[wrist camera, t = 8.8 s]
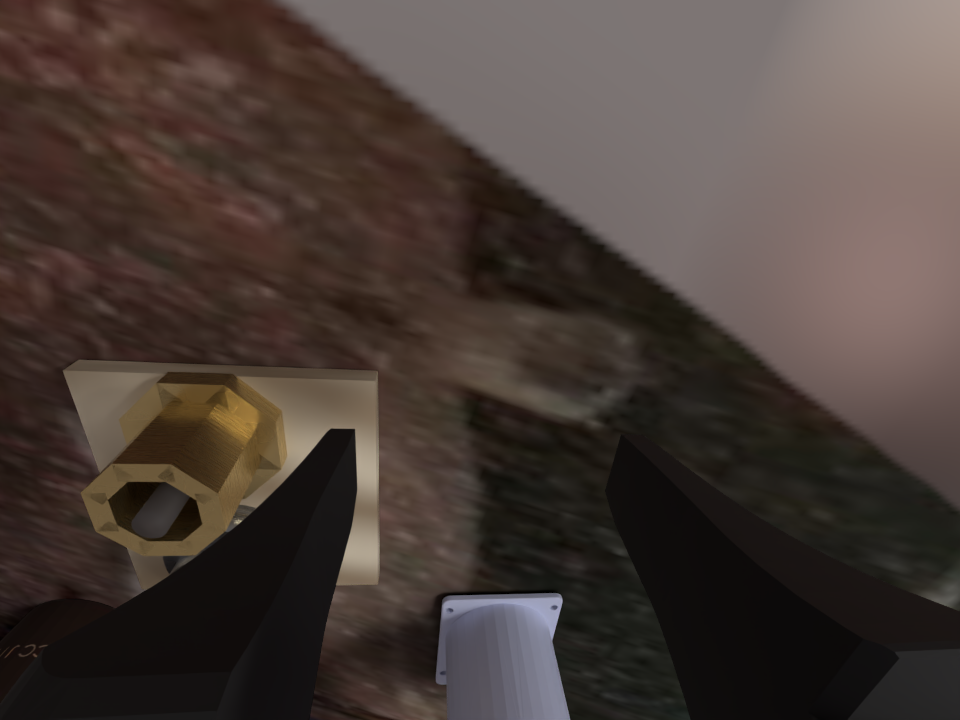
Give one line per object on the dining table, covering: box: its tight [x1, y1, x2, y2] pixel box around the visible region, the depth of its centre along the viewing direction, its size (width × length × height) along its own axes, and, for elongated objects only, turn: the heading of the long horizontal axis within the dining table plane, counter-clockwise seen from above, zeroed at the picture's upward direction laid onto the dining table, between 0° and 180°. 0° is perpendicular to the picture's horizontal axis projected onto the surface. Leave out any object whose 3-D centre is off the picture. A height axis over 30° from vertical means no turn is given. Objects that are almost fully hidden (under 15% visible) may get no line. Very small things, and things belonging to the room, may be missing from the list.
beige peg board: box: [63, 360, 380, 589], centre depth 21 cm, size 14×13×6 cm
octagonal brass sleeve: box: [81, 372, 287, 556], centre depth 19 cm, size 6×6×5 cm
